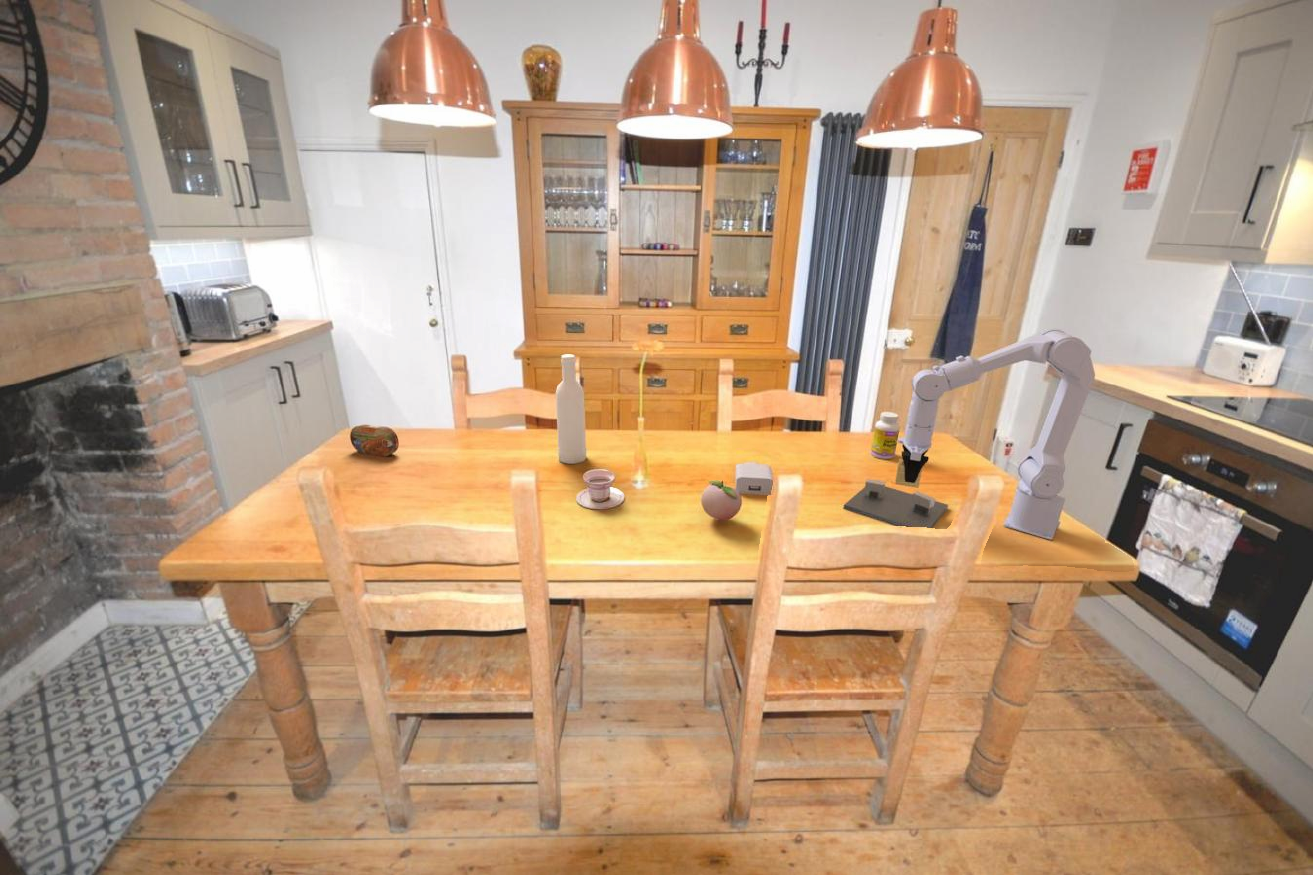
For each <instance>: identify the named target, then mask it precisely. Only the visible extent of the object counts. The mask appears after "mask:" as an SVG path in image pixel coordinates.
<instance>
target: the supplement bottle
mask: <svg viewBox="0 0 1313 875" xmlns="http://www.w3.org/2000/svg"><path fill="white" fill-rule="evenodd" d="M898 419H899V414H897V413H895V412H891V411H883V412H881V413H880V420H878V421H876V422H875V426H874V431H873V437H872V444H871V449H870V454H871V455H872V456H873V457H875V458H877V459H882V460H890V459H893V458H894V457H895V455H896V449H897V445H898V438H899V432H900V427H901V426H900V424H899V423H898V422H897V421H898Z"/></svg>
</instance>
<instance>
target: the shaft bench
mask: <svg viewBox="0 0 1313 875" xmlns="http://www.w3.org/2000/svg"><path fill="white" fill-rule="evenodd" d="M886 484H887V482H886V481H880V480H875V479H871V478H866V479H865V486H864V487H863V488H862V489H860V490H859V491H858V492H857V493H856V494H855V495H853V497H851V498H850V499H849V500H848V501H847V502H846V503H844V504H843V509H844V510H847V511H850V512H853V513H855V514H859V515H862V516H866V517H868V518H871V519H874V520H877V521H880V522H883V523H887V524H889V525H893V526H896V527H898V526H906V527H927V528H932V529H933V528H934V526H935V525H936V524H937V522H939V520H940V519H941V518H942V516H943V515H944V514H945V513H946V511H947V510H948V508H949V504H947V503H944V502H940V501H937V500H936V498H935V497H932V496H930V495H928V494H925V493H923V492H920V491H915V492H913V493H910V492H906V491H902V490H899V489H896V488H892V487H889V486H886Z"/></svg>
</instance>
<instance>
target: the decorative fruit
mask: <svg viewBox="0 0 1313 875" xmlns="http://www.w3.org/2000/svg"><path fill="white" fill-rule="evenodd" d="M708 483H709V485H708V486H707V487H706V488H705V489H704V490H703V492H702V493H701V497H700V498H701V500H700V502H701V507H702V508H703V510H704V512H705V513H706V515H708V516H709V517H711V518H713V519H716V520H717V521H721V522H723V521H728V520H730V519H732V518H735V517H736V515H737V514H738V513H739V511H740V510H741V508H742V503H743V499H742V496H741V493H739V492H738V491H737V490H736V488H734V487H732V486H729V485H726V484H725V483H724V481H723V480H722V481H720V480H715V479H714V480H709V481H708Z"/></svg>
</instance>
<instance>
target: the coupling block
mask: <svg viewBox="0 0 1313 875" xmlns="http://www.w3.org/2000/svg"><path fill="white" fill-rule="evenodd" d="M922 471H923V468H922V469H921V471H920V473H919V475H918V477H917V480H916V481H915V483H910V482H905V467H904V461H903V459H902V458H898V464H897V470H896V476H895V485H898V486H903V487H910V488H916V489H919V487H920V482H921V477H922Z"/></svg>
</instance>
